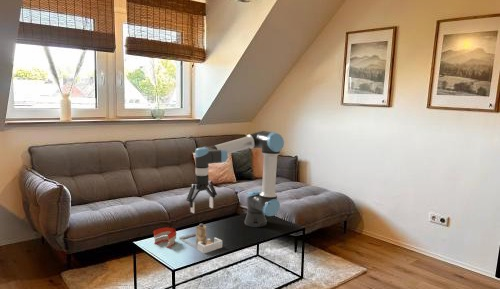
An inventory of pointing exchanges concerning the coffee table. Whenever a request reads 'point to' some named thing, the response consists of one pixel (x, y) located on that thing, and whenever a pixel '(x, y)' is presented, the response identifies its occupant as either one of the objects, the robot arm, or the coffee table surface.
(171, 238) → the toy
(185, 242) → the rails
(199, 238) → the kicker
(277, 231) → the coffee table surface
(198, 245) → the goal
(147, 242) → the coffee table surface
